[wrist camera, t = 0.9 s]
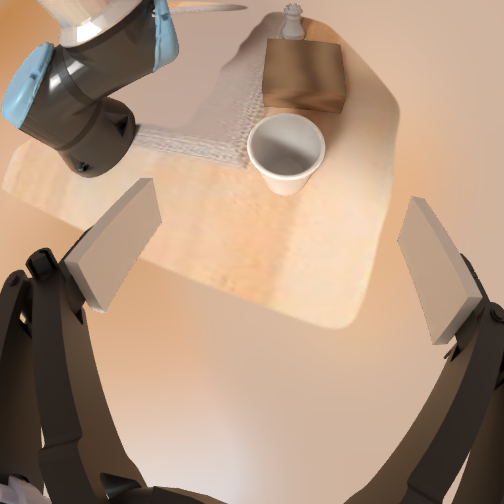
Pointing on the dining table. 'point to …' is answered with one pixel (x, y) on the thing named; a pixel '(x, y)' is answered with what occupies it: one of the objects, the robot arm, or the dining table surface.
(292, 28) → the rook chess piece
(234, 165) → the dining table surface
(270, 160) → the dixie cup
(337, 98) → the walnut block
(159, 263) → the dining table surface
